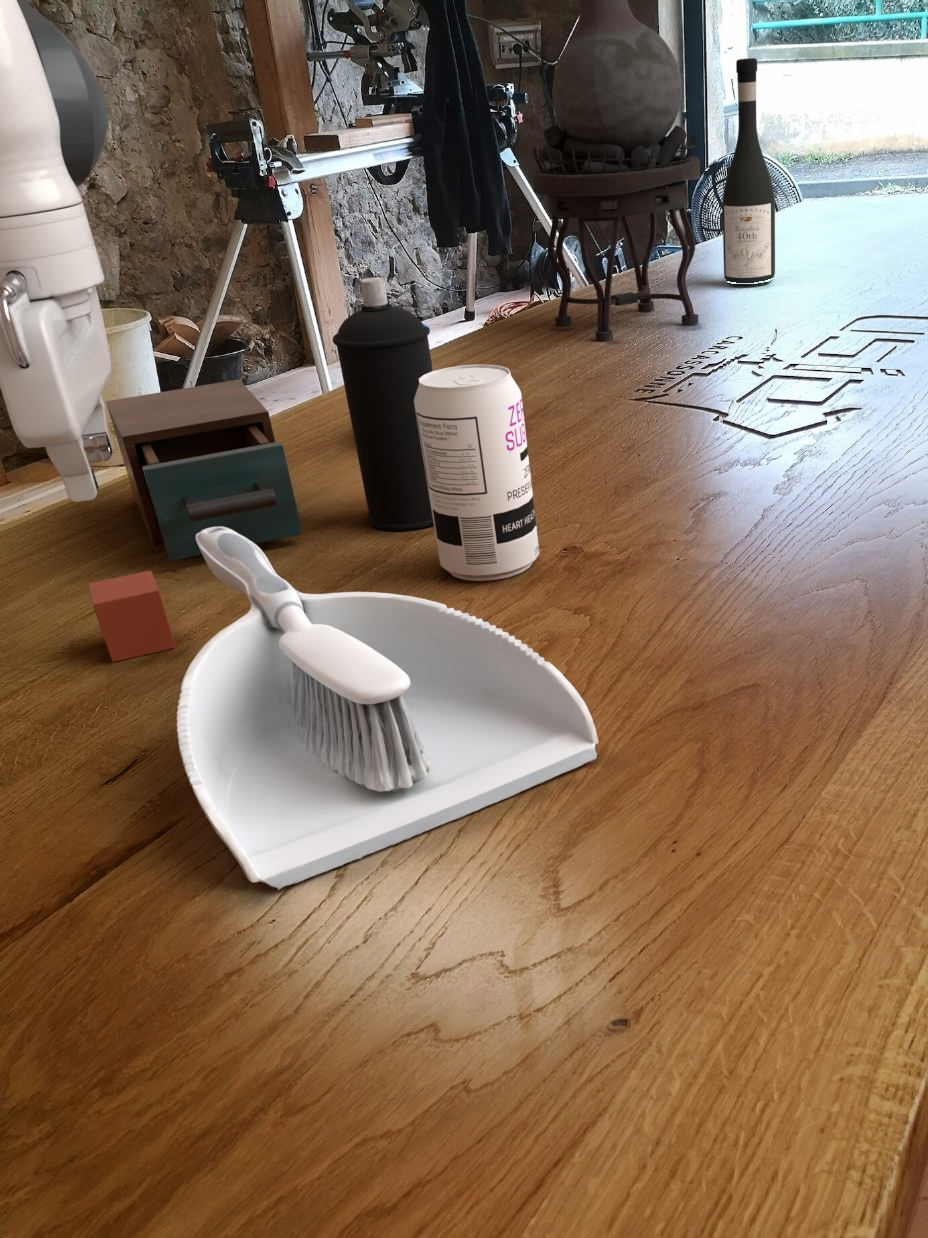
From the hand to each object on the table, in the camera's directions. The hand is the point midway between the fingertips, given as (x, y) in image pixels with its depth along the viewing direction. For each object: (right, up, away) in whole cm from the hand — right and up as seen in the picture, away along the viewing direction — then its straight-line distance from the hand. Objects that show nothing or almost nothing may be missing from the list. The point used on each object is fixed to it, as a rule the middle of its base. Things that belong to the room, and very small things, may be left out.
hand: (93, 477), depth 87 cm
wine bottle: (+55, +64, +110) cm, 139 cm away
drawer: (+2, +2, +24) cm, 24 cm away
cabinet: (-3, +7, +33) cm, 34 cm away
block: (+1, -10, +7) cm, 13 cm away
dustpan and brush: (+18, -18, -6) cm, 26 cm away
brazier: (+36, +49, +91) cm, 109 cm away
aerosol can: (+17, +5, +27) cm, 33 cm away
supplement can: (+26, -3, +16) cm, 30 cm away
